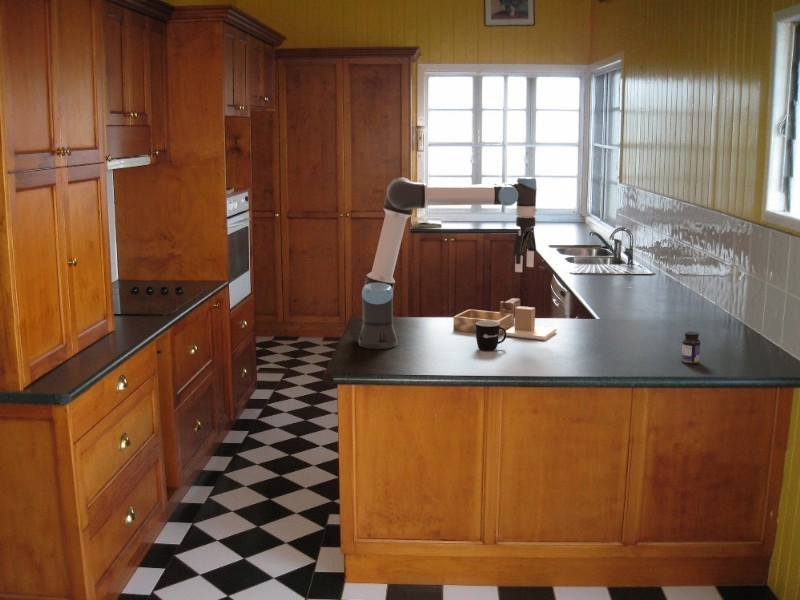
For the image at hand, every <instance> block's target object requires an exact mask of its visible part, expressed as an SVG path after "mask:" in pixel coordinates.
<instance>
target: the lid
mask: <svg viewBox="0 0 800 600" xmlns="http://www.w3.org/2000/svg"><path fill="white" fill-rule="evenodd" d="M535 323H536V307H533V306H531V307H530V306H521V305H519V306H517V307H515V308H514V326H513V327H511V328H510V329H508V330H506V337H510V338H511V337H512V338H513V337H514V338H521V339H530V340H539V341H546V340H548V339H549V338H550V337H552V336H554V335H555V334H556V332H557V328H556V327H550V326H549V327H548V326H539V325H537V326H536V325H535Z"/></svg>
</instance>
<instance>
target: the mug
mask: <svg viewBox="0 0 800 600" xmlns="http://www.w3.org/2000/svg"><path fill="white" fill-rule="evenodd" d="M500 329H502V330H503V331H504V333H503V335H504V336H503V337H502V339H501V340H500V341H499V339H500V336H499V330H500ZM475 336H476V337H475V338H476V344H477V348H478V350H479V351H481V350H482V351H481V352H494V351H496V350H497V347H498V346H499V344H501V343H504V341H505V340H506V338H507V336H506V331H505V329H504V328H502V327H500V324H499V323H498V322H494V321H480V322H477V323H476V333H475Z"/></svg>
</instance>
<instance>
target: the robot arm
mask: <svg viewBox="0 0 800 600" xmlns="http://www.w3.org/2000/svg"><path fill="white" fill-rule="evenodd" d="M537 189H538V188H537V179H536V178H535V177H533V176H532V177H531V176H530V177H529V176H526V177H525V176H520V177H518V178H517V179H516V181H515V182H498V181H497V182H496V181H495V182H489V183H487V184H472V185H471V184H462V185H461V184H459V185H458V184H456V185H455V184H454V185H453V184H451V185H449V184H448V185H446V184H445V185H444V184H443V185H442V184H441V185H440V184H439V185H432V184H431V185H428V184H427V183H426V182H416V181H412V180H411V179H410V178H407V177H397V178H394V179H393V180H391V181H390V182H389V183H388V185H387V187H386V195H385V200H384V203H383V208H382V209H383V210H384V212H385V215H384V220H383V224H382V227H381V231H380V236H379V240H378V245H377V249H376V252H375V256H374V259H373V260H374V261H373V265H372V269H371V271H370V272H369V273H367V274H366V278H365V281H364V286H363V287H362V289H361V299H362V327H361V331H360V332H359V337H358V346H359V347H361V348H364V349H368V350H369V349H371V350H386V349H391V348H394V347H396V346H398V338H397V333H396V331H395V328H394V323H393V321H394V320H393V319H394V317H393V315H394V314H393V313H394V311H393V308H394V307H393V302H394V300H393V298H394V289H395V285H396V284H395V283H396V280H395V278H394V277H393V276H394V272H395V267H396V264H397V261H398V255H399V252H400V249H401V244H402V240H403V235H404V232H405V228H406V223H407V220H408V218H410V217H412V215H413V213H414V209H426V208H427V207H428V206H483V205H484V206H485V205H487V206H491V205H493V206H494V205H495V206H501V205H503V206H507V207H508V206H509V207H510V206H513V205H515V204H516V209H515V210H516V212H515V213H516V218H515V222H516V223H515V225H516V227H519V229H517V230H516V237H515V243H514V246H513V247H514V248H513V252H512V253H513V254H512V255H513V256H514V258H515V261H514V263H515V264H514V272H515V273H523V261H524V260H523V259H524V258H523V255H522V254H523V251H524V247H525V245H526V247H527V251H526V267H527V268H534V260H535V259H534V258H535V257H534V256H535V255H534V254H535V252H537V244H536V237H535V228H534V227H535V226H536V217H535V216H536V212H537V210H538V208H536V205H537V203H536V202H537Z"/></svg>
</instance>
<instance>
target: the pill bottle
mask: <svg viewBox="0 0 800 600" xmlns="http://www.w3.org/2000/svg"><path fill="white" fill-rule="evenodd" d="M684 337H685V338H683V339H682V341H681V342H682V345H681V362H682V364H684V365H685V364H686V365H698V364H699V363H700V355H701V351H700V350H701V340H700V339H699V337H700V333H699V332H697V331H692V330H691V331H690V330H689V331H685V332H684Z"/></svg>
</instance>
